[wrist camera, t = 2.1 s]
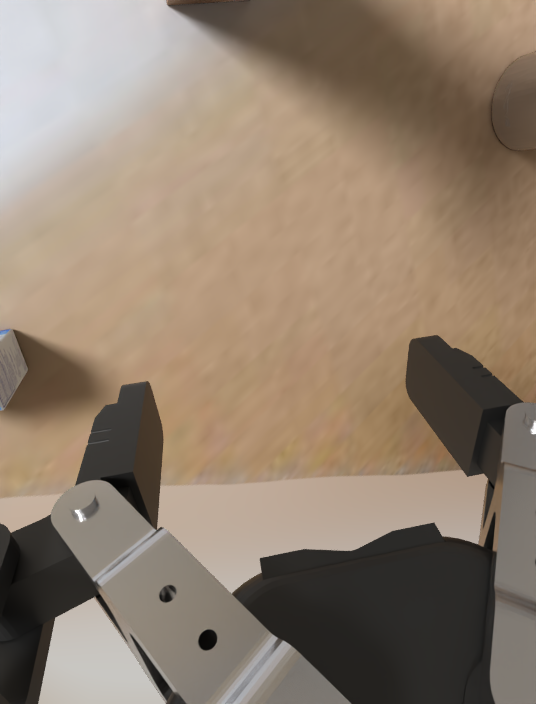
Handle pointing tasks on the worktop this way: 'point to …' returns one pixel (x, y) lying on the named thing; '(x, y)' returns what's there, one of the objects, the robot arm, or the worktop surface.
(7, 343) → the medicine box
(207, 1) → the walnut stand
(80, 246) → the worktop surface
